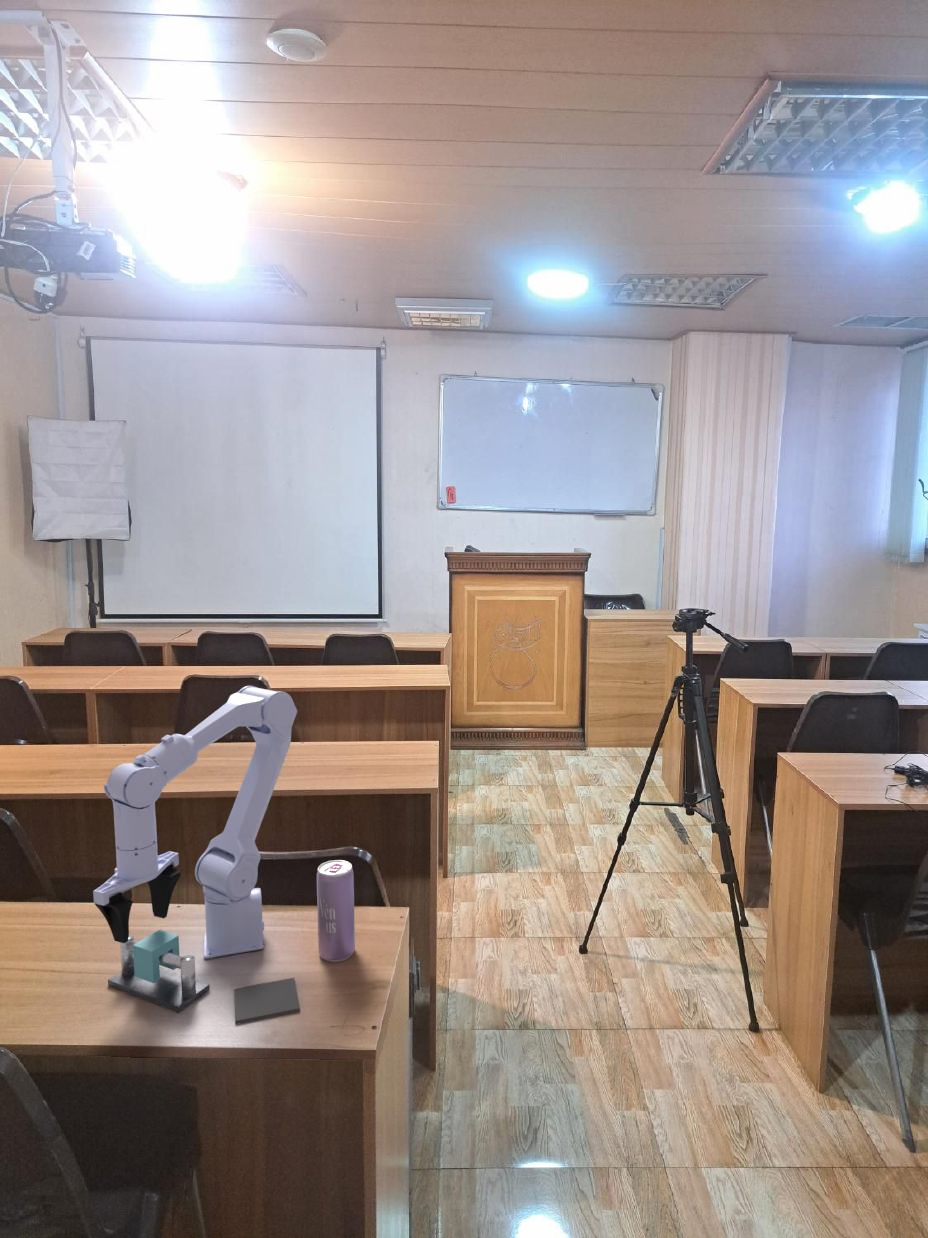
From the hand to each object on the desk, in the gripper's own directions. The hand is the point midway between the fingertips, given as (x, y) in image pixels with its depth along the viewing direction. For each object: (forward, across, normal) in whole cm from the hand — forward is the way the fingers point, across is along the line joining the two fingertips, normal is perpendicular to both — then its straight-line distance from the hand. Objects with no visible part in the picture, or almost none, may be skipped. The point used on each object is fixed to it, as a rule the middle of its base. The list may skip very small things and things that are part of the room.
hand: (141, 928), depth 113 cm
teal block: (+7, 0, +2) cm, 7 cm away
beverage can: (+10, -19, +23) cm, 31 cm away
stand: (+9, 0, +2) cm, 10 cm away
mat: (+10, -4, +20) cm, 22 cm away
